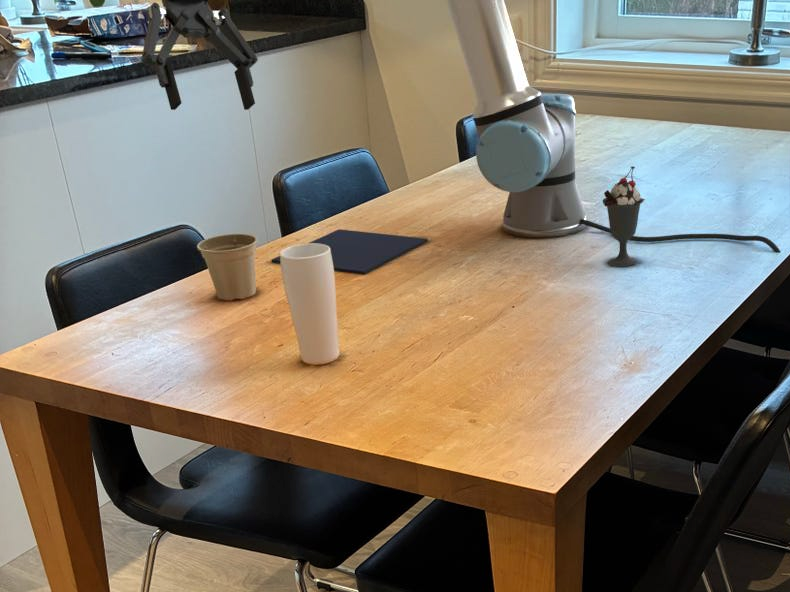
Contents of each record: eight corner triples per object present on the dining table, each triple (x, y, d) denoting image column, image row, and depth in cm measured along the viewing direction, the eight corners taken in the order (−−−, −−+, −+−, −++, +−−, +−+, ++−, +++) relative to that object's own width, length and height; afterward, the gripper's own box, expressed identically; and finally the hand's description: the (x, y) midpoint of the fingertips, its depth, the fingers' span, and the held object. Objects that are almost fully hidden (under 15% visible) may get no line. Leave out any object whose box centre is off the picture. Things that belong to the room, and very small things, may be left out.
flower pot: (252, 305, 163) (243, 250, 159) (197, 304, 165) (186, 250, 161) (274, 285, 171) (266, 233, 167) (221, 285, 173) (211, 233, 169)
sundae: (646, 256, 173) (649, 163, 165) (638, 269, 167) (640, 173, 160) (607, 255, 175) (608, 163, 167) (598, 267, 169) (598, 173, 162)
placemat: (428, 241, 188) (427, 238, 188) (364, 274, 174) (364, 271, 173) (339, 231, 197) (338, 229, 197) (271, 262, 183) (271, 259, 182)
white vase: (297, 351, 145) (280, 245, 137) (346, 347, 145) (332, 240, 138) (294, 370, 139) (276, 260, 132) (344, 366, 140) (330, 255, 132)
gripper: (236, -5, 183) (268, 115, 185) (99, -15, 168) (135, 115, 170) (255, -27, 178) (288, 97, 179) (114, -39, 162) (152, 96, 164)
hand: (214, 106), depth 174 cm, fingers open, 13 cm apart
